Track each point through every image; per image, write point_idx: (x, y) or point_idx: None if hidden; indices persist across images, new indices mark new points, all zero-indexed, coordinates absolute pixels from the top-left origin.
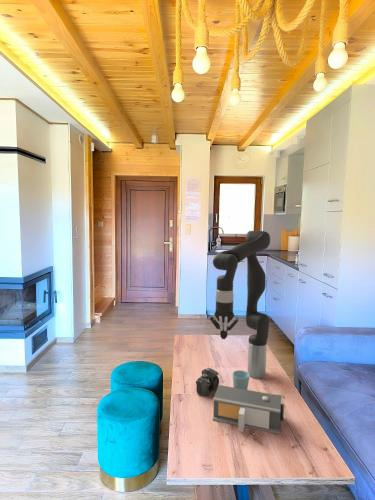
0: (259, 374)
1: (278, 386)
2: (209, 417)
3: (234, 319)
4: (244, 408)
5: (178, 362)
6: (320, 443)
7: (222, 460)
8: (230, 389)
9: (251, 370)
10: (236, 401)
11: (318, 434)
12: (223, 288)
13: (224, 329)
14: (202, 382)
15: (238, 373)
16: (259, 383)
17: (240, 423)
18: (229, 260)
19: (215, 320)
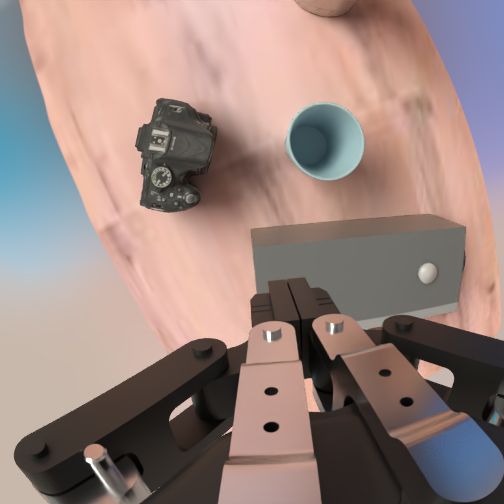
0: (344, 9)
1: (406, 49)
2: (245, 302)
3: None
4: (365, 329)
5: (32, 47)
6: (488, 276)
7: (315, 405)
8: (306, 261)
9: (316, 1)
10: None
11: (491, 249)
12: None
13: (321, 395)
14: (168, 211)
15: (305, 112)
16: (348, 44)
17: None
18: None
19: (140, 451)
